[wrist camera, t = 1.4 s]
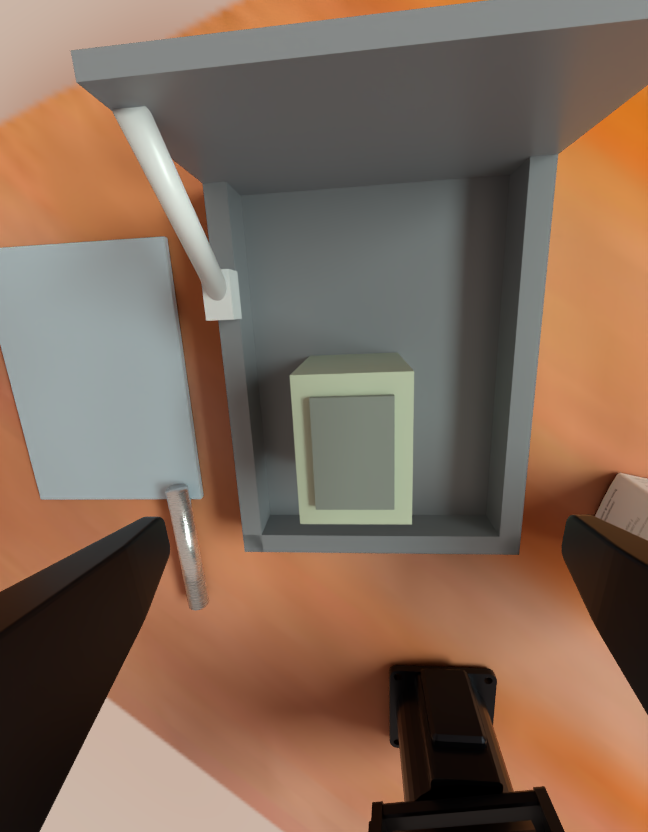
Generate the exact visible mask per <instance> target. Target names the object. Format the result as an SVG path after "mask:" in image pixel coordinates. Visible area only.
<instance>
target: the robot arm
mask: <svg viewBox="0 0 648 832" xmlns="http://www.w3.org/2000/svg"><path fill="white" fill-rule="evenodd" d="M169 554H170V544H169V539H168V535H167V530H166V526H165V522H164V520H163V519H162V518H161V517H143V518H141V519H139V520H137V521H135V522H133V523H131V524H129V525H127V526H125V527H123V528H122V529H120V530H118V531H116V532H114V533H112V534H110V535H108V536H106V537H104V538H102V539H101V540H99V541H97V542H95V543H93V544H91V545H89V546H87V547H85V548H83V549H81V550H79V551H78V552H76V553H74V554H72V555H70V556H68V557H66V558H64V559H62V560H60V561H58V562H57V563H55V564H53V565H51V566H49V567H47V568H45V569H43V570H41V571H39V572H37V573H36V574H34V575H32V576H30V577H28V578H26V579H24V580H22V581H20V582H18V583H16V584H15V585H13V586H11V587H9V588H7V589H5V590H3V591H1V592H0V832H40V830H41V827H42V825H43V824H44V822H45V820H46V818H47V816H48V814H49V811H50V809H51V807H52V805H53V803H54V801H55V799H56V797H57V795H58V793H59V791H60V789H61V787H62V785H63V783H64V781H65V779H66V777H67V775H68V773H69V771H70V769H71V767H72V765H73V763H74V761H75V759H76V757H77V755H78V753H79V751H80V749H81V747H82V745H83V743H84V741H85V739H86V737H87V735H88V733H89V731H90V729H91V727H92V725H93V723H94V721H95V719H96V717H97V715H98V713H99V711H100V709H101V707H102V705H103V703H104V701H105V699H106V697H107V695H108V693H109V691H110V689H111V687H112V685H113V683H114V681H115V679H116V677H117V675H118V673H119V671H120V669H121V667H122V665H123V663H124V661H125V659H126V657H127V655H128V653H129V651H130V649H131V647H132V645H133V643H134V641H135V639H136V637H137V635H138V633H139V631H140V629H141V627H142V624H143V622H144V620H145V618H146V615H147V613H148V611H149V608H150V606H151V603H152V600H153V598H154V595H155V592H156V590H157V587H158V584H159V582H160V579H161V576H162V574H163V571H164V569H165V566H166V563H167V561H168V558H169ZM562 555H563V558H564V561H565V563H566V565H567V567H568V569H569V571H570V573H571V576H572V578H573V580H574V582H575V584H576V586H577V588H578V591H579V593H580V595H581V597H582V599H583V601H584V603H585V606H586V608H587V610H588V612H589V614H590V616H591V618H592V620H593V622H594V624H595V626H596V628H597V630H598V631H599V633H600V635H601V637H602V639H603V640H604V642H605V644H606V645H607V647H608V649H609V650H610V652H611V654H612V655H613V657H614V659H615V660H616V662H617V664H618V666H619V667H620V669H621V671H622V672H623V674H624V676H625V677H626V679H627V681H628V682H629V684H630V686H631V688H632V689H633V691H634V693H635V694H636V696H637V698H638V699H639V701H640V703H641V704H642V706H643V708H644V709H645V711H646V713H647V715H648V540H646V539H643V538H641V537H639V536H637V535H635V534H632V533H630V532H628V531H626V530H624V529H621V528H619V527H617V526H615V525H613V524H610V523H608V522H606V521H604V520H602V519H599V518H597V517H595V516H593V515H571V516H569V517H568V519H567V521H566V526H565V531H564V536H563V542H562ZM397 674H398V675H397ZM496 685H497V679H496V676H495V674H494V672H493V671H492V670H491V669H484V668H458V667H432V666H405V665H395V666H392V667H391V668H390V670H389V736H390V744H391V745H392V746H393V747H396V748H400V758H401V769H402V779H403V790H404V801H405V802H396V803H386V804H383V801H381V802H373V803H372V817H371V821H369V831H368V832H564V829H563V827H562V825H561V823H560V820H559V818H558V816H557V813H556V811H555V809H554V807H553V804H552V802H551V800H550V798H549V795H548V793H547V791H546V789H545V787H544V786H542V787H533V790H526V791H515V792H514V791H513V788H512V784H511V781H510V778H509V775H508V772H507V769H506V766H505V763H504V759H503V756H502V753H501V750H500V747H499V744H498V741H497V738H496V735H495V731H494V728H493V718H494V707H495V696H496Z"/></svg>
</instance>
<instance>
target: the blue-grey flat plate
mask: <svg viewBox="0 0 648 832" xmlns="http://www.w3.org/2000/svg"><path fill="white" fill-rule="evenodd" d="M0 345H1V349H2V353H3V357H4V361H5V364H6V368H7V372H8V376H9V380H10V383H11V387H12V391H13V395H14V399H15V402H16V406H17V410H18V414H19V418H20V422H21V425H22V429H23V433H24V437H25V441H26V444H27V448H28V452H29V456H30V460H31V464H32V467H33V471H34V475H35V479H36V483H37V486H38V490H39V494H40V498H41V499H167V497H166V492H165V491H166V489H167V488H168V487H170V486H172V485H175V484H186V485H188V489H189V494H190V499H202V497H203V496H204V495H203V488H202V480H201V473H200V466H199V459H198V452H197V445H196V438H195V431H194V424H193V417H192V409H191V402H190V395H189V388H188V381H187V374H186V367H185V360H184V353H183V345H182V338H181V331H180V324H179V317H178V310H177V303H176V296H175V289H174V281H173V274H172V267H171V260H170V253H169V246H168V239H167V238H166V237H149V238H134V239H120V240H106V241H91V242H77V243H62V244H48V245H34V246H19V247H5V248H0Z"/></svg>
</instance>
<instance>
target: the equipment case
mask: <svg viewBox="0 0 648 832" xmlns="http://www.w3.org/2000/svg"><path fill="white" fill-rule="evenodd" d="M71 55H72V60H73V66H74V72H75V77H76V82H77V83H78V84H79V85H80V86H82V87H83V88H84V89H85V90H87V91H88V92H89V93H90V94H92V95H93V96H94V97H95V98H97V99H98V100H99V101H100V102H102V103H103V104H104V105H105V106H107V107H108V108H109V109H110V110H112V111H113V114H114V116H115V118H116V119H117V121H118V123H119V125H120V127H121V129H122V131H123V133H124V135H125V137H126V139H127V140H128V142H129V144H130V146H131V148H132V150H133V152H134V154H135V156H136V158H137V160H138V161H139V163H140V165H141V167H142V169H143V171H144V173H145V175H146V177H147V179H148V181H149V183H150V184H151V186H152V188H153V190H154V192H155V194H156V196H157V198H158V200H159V202H160V204H161V205H162V207H163V209H164V211H165V213H166V215H167V217H168V219H169V221H170V223H171V225H172V227H173V228H174V230H175V232H176V234H177V236H178V238H179V240H180V242H181V244H182V246H183V248H184V249H185V251H186V253H187V255H188V257H189V259H190V261H191V263H192V265H193V267H194V269H195V270H196V272H197V274H198V276H199V278H200V280H201V283H202V291H203V300H204V308H205V316H206V321H213V320H218V322H219V331H220V339H221V348H222V357H223V365H224V374H225V383H226V392H227V400H228V409H229V418H230V426H231V435H232V444H233V452H234V461H235V470H236V479H237V487H238V496H239V505H240V513H241V522H242V531H243V540H244V548H245V552H322V553H413V554H503V555H519V549H520V539H521V529H522V519H523V508H524V498H525V488H526V478H527V467H528V457H529V447H530V437H531V426H532V416H533V406H534V396H535V385H536V375H537V365H538V355H539V344H540V334H541V324H542V314H543V303H544V293H545V283H546V273H547V262H548V252H549V242H550V232H551V221H552V211H553V201H554V191H555V180H556V170H557V160H558V154H559V153H560V152H562V151H563V150H564V149H565V148H567V147H568V146H569V145H571V144H572V143H573V142H574V141H576V140H577V139H578V138H580V137H581V136H582V135H584V134H585V133H586V132H587V131H589V130H590V129H591V128H593V127H594V126H595V125H596V124H598V123H599V122H600V121H602V120H603V119H604V118H605V117H607V116H608V115H609V114H611V113H612V112H613V111H615V110H616V109H617V108H618V107H620V106H621V105H622V104H624V103H625V102H626V101H627V100H629V99H630V98H631V97H633V96H634V95H635V94H636V93H638V92H639V91H640V90H642V89H643V88H644V87H646V86H647V85H648V0H488V1H480V2H472V3H463V4H455V5H447V6H438V7H430V8H421V9H413V10H405V11H396V12H388V13H380V14H371V15H363V16H355V17H346V18H338V19H330V20H321V21H313V22H305V23H296V24H288V25H280V26H271V27H263V28H255V29H246V30H238V31H229V32H221V33H213V34H204V35H196V36H188V37H179V38H171V39H163V40H154V41H146V42H138V43H129V44H121V45H113V46H105V47H96V48H88V49H79V50H71ZM171 158H172V159H173V160H174V161H175V162H177V163H178V164H179V165H180V166H182V167H183V168H184V169H185V170H186V171H188V172H189V173H190V174H191V175H193V176H194V177H195V178H196V179H198V180H199V181H200V182H201V183H203V191H204V200H205V209H206V217H207V226H208V235H209V242H208V240H207V237H206V235H205V233H204V231H203V228H202V226H201V224H200V222H199V219H198V217H197V215H196V213H195V210H194V208H193V206H192V204H191V201H190V199H189V197H188V195H187V192H186V190H185V188H184V186H183V183H182V181H181V179H180V177H179V174H178V172H177V170H176V168H175V165H174V163H173V161H172V159H171ZM372 353H398V354H399V355H400V356H401V357H402V358H403V359H404V360H405V361H406V363H407V364H408V365H409V366H410V367H411V368H412V369H413V370H414V419H413V490H412V524H300V515H299V500H298V486H297V472H296V458H295V444H294V430H293V415H292V401H291V387H290V375H291V374H292V373H293V372H294V371H295V370H296V369H297V368H298V367H299V366H300V365H301V364H302V363H303V362H304V361H305V360H306V359H307V358H308V357H309V356H318V355H345V354H372Z"/></svg>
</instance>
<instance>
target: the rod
mask: <svg viewBox="0 0 648 832" xmlns="http://www.w3.org/2000/svg"><path fill="white" fill-rule="evenodd" d="M165 492H166V497H167V502H168V506H169V511H170V516H171V521H172V526H173V531H174V536H175V541H176V545H177V550H178V555H179V560H180V565H181V570H182V575H183V580H184V585H185V589H186V594H187V599H188V604H189V608H190V609H191V610H200V609H202V608H204V607H205V606H206V605H207V604H208V602H209V598H208V592H207V587H206V581H205V576H204V571H203V565H202V560H201V554H200V549H199V543H198V538H197V532H196V527H195V521H194V516H193V510H192V505H191V499H190V494H189V489H188V485H186V484H175V485H172V486H170V487H168V488H167V489H166V491H165Z"/></svg>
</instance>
